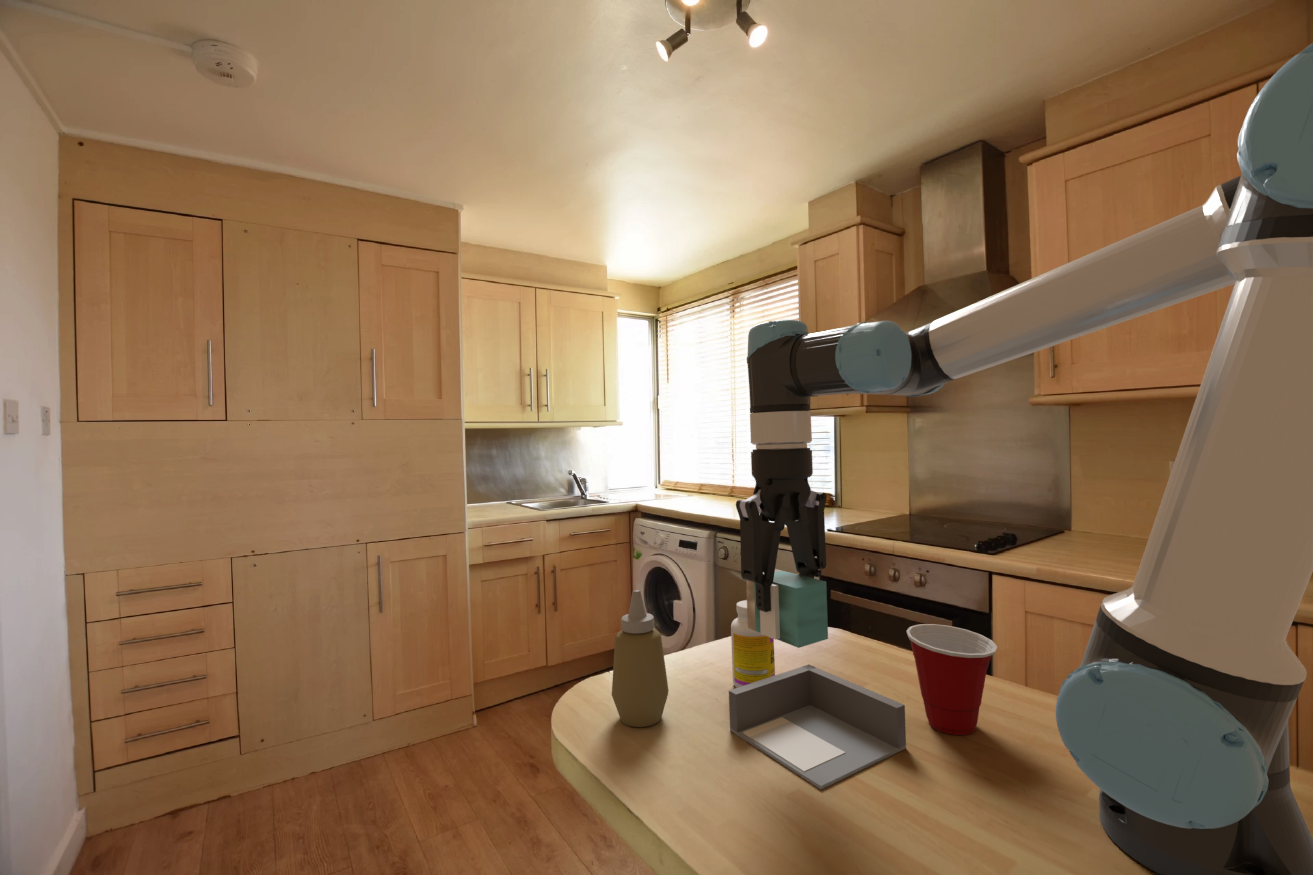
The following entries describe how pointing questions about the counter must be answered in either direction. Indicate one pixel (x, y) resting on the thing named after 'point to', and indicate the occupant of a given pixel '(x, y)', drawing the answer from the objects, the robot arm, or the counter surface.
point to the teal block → (795, 608)
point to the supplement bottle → (750, 651)
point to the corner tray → (817, 723)
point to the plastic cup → (951, 674)
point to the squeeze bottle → (639, 668)
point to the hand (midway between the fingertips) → (787, 630)
